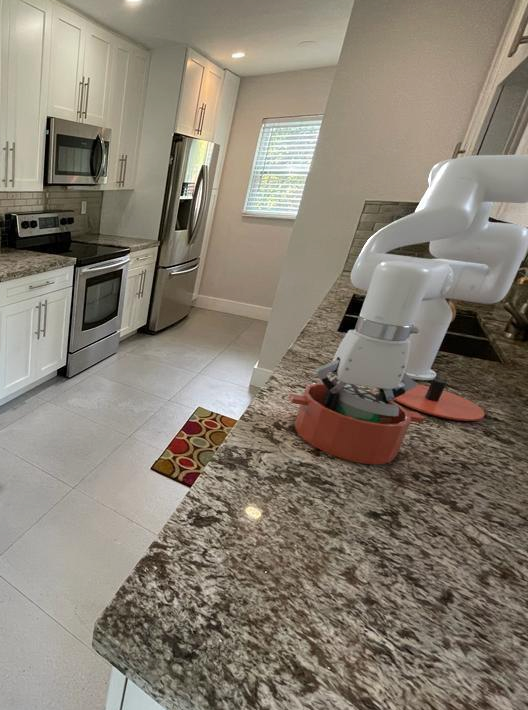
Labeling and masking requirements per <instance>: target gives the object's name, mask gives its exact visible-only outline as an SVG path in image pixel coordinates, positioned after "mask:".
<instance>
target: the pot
mask: <svg viewBox="0 0 528 710" xmlns="http://www.w3.org/2000/svg"><path fill="white" fill-rule="evenodd" d="M365 390H366V389H365ZM326 391H327V387H326V386H325V385H324V383H323V382H315V383H312V384H309V385H307V386H305V389H304V391H303V395H301V394H294V393H289V394H288V399H289V401H290V403H291V404H294V405H299V408H298V410H297V414H296V418H295V420H294V423H293V425H294V429H295V431H296V433H297V434H298V435H299V437H301V438H302V439H303V440H304V441H305V442H307V443H308V444H309V445H311V446H313V447H315V448H316V449H318V450H320V451H322V452H325V453H326V454H329V455H331V456H334V457H337V458H338V459H339V458H340V459H343V460H346V461H350V462H354V463H357V464H358V463H359V464H364V465H385V464H389V463H391V462H392V461H393V460H394V459H395V458H396V457H397V455H398V453H399V450H400V448H401V447H402V446H401V445H402V443H403V441H404V439H405V436H406V434H407V432H408V430H409V426H410V425H411V423H412V422H414V423H421V424H424V421H425V417H423V416H422V415H421V414H420V413H419V412H417V411H411V410H406V408H404V407H403V406H402V405H400V404H398V403H396V401H392V402H389V405H399V407H398V409H399V413H398V416H393V418H392V420H391V422H390V424H379V423H373V422H366V421H361V420H358V419H355V418H351V417H348V416H344V415H341V414H339V413H337V412H335V411H332V410H330V409H328V408H327V407H326V406H325V404H324V402H323V401H324V397H325V394H326ZM366 391H369V390H366ZM369 392H371V393H372V394H374V395H376V394H377V393H375V392H372V391H369Z"/></svg>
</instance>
